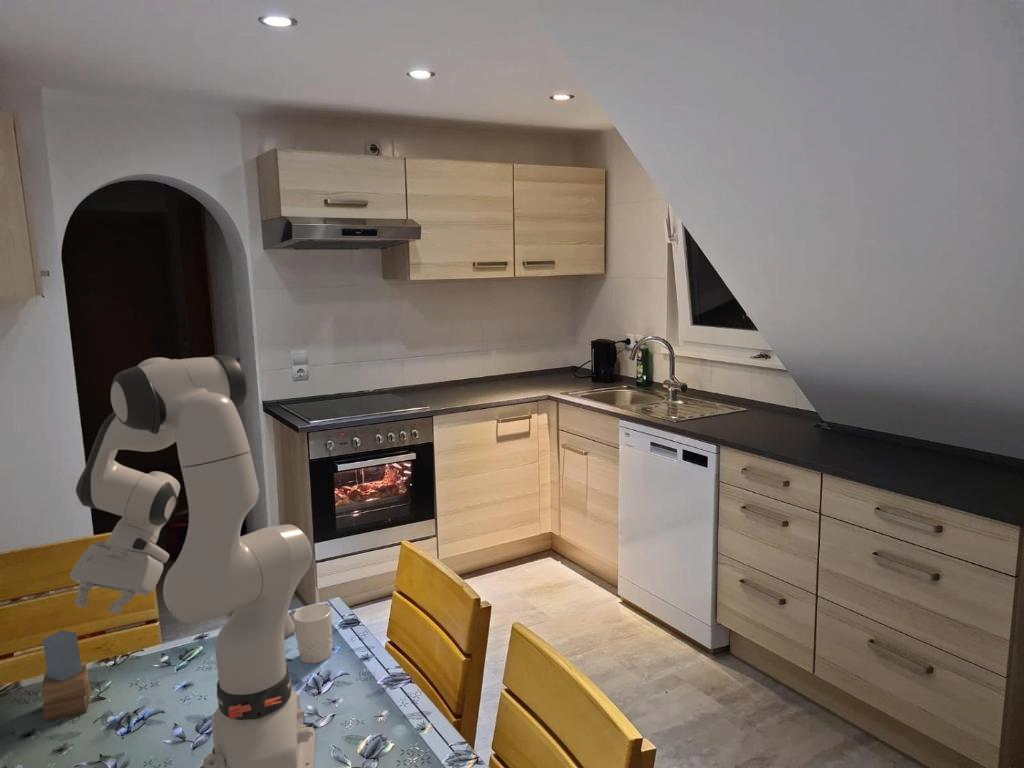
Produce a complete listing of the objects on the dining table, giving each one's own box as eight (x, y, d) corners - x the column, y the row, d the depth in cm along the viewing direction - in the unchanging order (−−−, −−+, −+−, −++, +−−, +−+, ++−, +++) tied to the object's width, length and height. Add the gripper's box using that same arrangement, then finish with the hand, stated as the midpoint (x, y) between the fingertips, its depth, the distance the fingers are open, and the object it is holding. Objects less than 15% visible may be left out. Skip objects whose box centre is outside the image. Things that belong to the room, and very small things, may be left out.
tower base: (86, 713, 145) (84, 697, 144) (44, 723, 143) (42, 706, 142) (91, 694, 152) (89, 678, 151) (51, 703, 149) (49, 687, 148)
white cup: (289, 658, 162) (285, 615, 160) (318, 642, 168) (314, 600, 166) (314, 669, 157) (310, 625, 155) (342, 652, 164) (339, 609, 162)
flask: (286, 642, 169) (282, 600, 167) (257, 640, 170) (253, 598, 168) (301, 626, 176) (298, 586, 174) (273, 624, 177) (269, 584, 175)
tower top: (86, 695, 145) (83, 678, 144) (44, 706, 142) (41, 689, 141) (88, 677, 151) (85, 661, 151) (47, 687, 148) (45, 671, 148)
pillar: (82, 670, 147) (76, 632, 146) (63, 681, 144) (57, 642, 142) (67, 667, 149) (61, 629, 147) (48, 678, 145) (42, 639, 144)
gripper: (83, 534, 161) (48, 596, 154) (156, 544, 153) (122, 611, 146) (104, 546, 166) (70, 607, 158) (175, 556, 158) (143, 621, 151)
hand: (96, 609), depth 152 cm, fingers open, 8 cm apart
